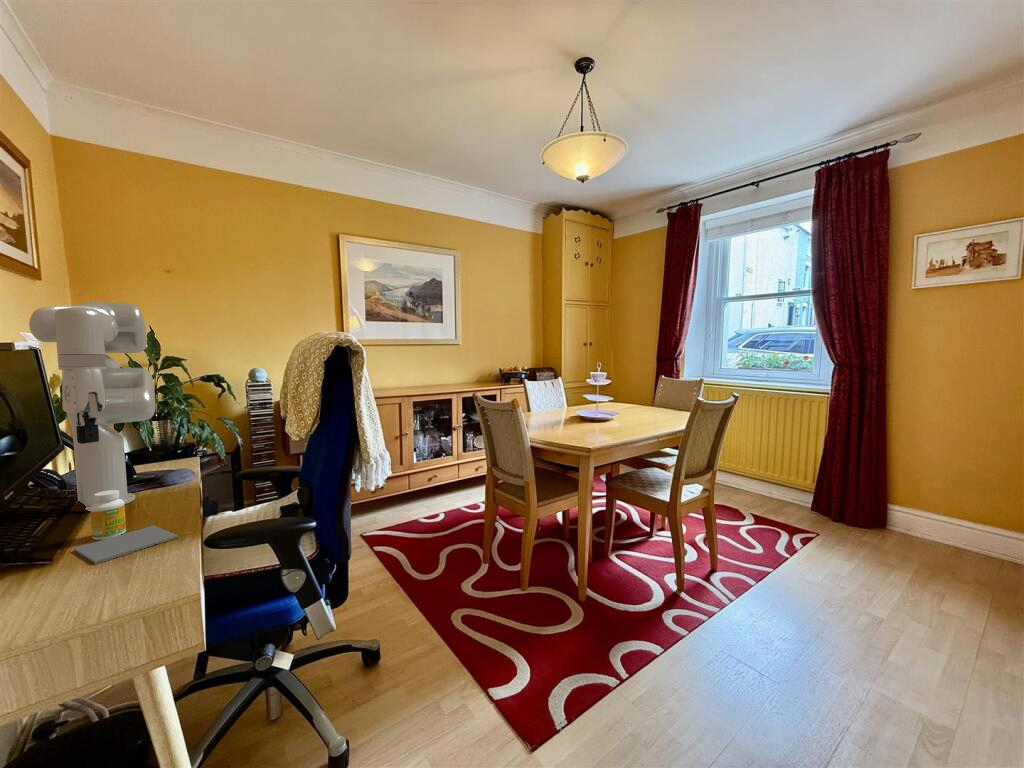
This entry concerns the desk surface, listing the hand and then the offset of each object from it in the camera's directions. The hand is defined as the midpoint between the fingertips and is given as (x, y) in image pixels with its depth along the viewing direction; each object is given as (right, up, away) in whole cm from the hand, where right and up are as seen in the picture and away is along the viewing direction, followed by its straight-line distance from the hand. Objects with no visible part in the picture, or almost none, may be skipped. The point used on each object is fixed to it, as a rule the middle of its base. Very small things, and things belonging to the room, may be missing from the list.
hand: (88, 442), depth 94 cm
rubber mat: (+17, -20, -8) cm, 28 cm away
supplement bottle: (+8, -21, -3) cm, 22 cm away
